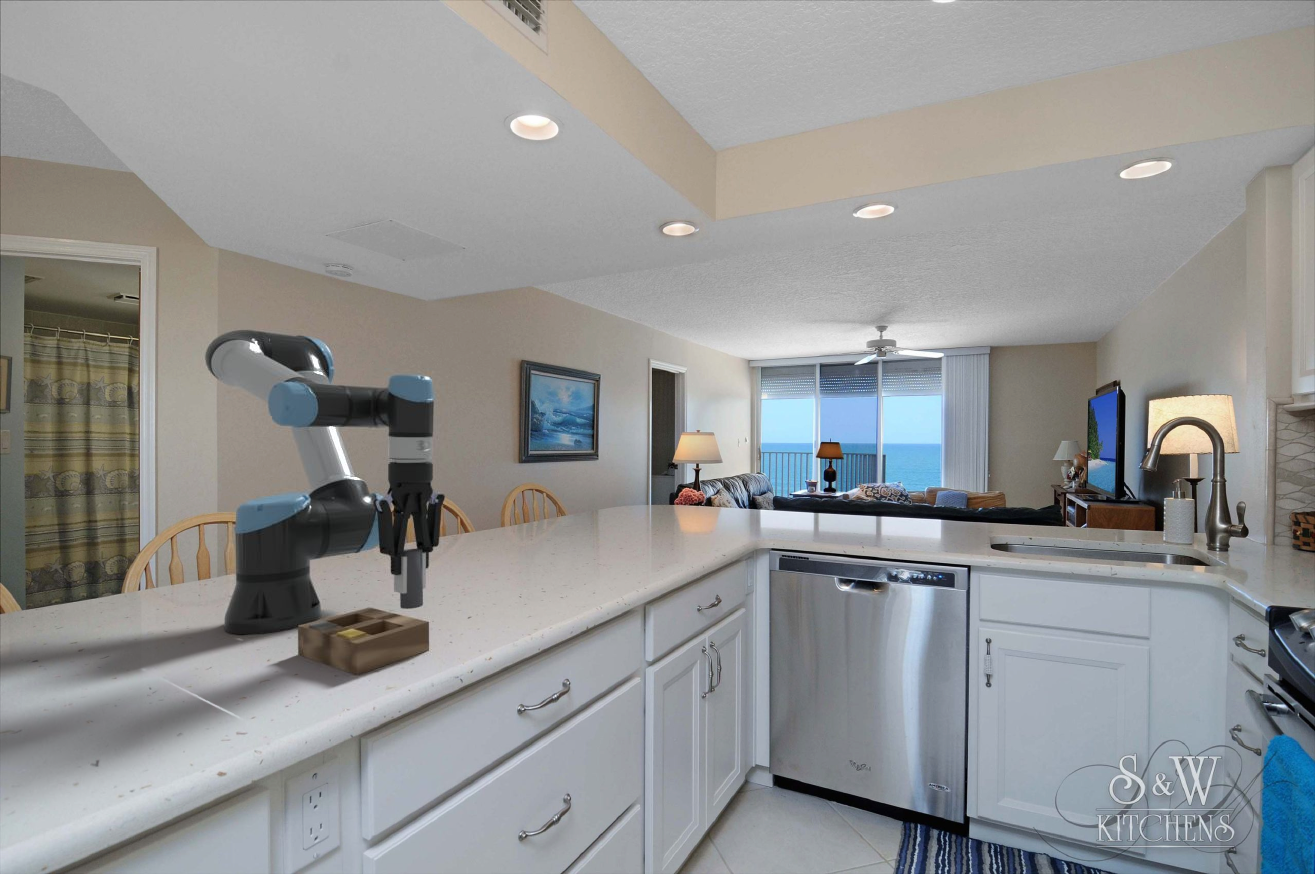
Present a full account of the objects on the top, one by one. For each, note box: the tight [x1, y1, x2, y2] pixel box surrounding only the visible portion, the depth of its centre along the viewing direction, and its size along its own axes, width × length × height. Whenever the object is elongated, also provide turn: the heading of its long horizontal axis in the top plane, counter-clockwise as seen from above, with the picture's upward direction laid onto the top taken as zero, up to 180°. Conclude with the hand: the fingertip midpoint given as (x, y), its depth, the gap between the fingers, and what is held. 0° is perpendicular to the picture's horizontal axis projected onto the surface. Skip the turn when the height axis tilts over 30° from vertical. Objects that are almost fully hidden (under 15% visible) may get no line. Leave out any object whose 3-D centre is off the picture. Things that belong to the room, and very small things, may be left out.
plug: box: [399, 548, 424, 610], centre depth 111 cm, size 4×4×10 cm
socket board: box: [297, 607, 430, 676], centre depth 97 cm, size 16×12×5 cm
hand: (409, 589), depth 111 cm, fingers closed on plug, 3 cm apart
